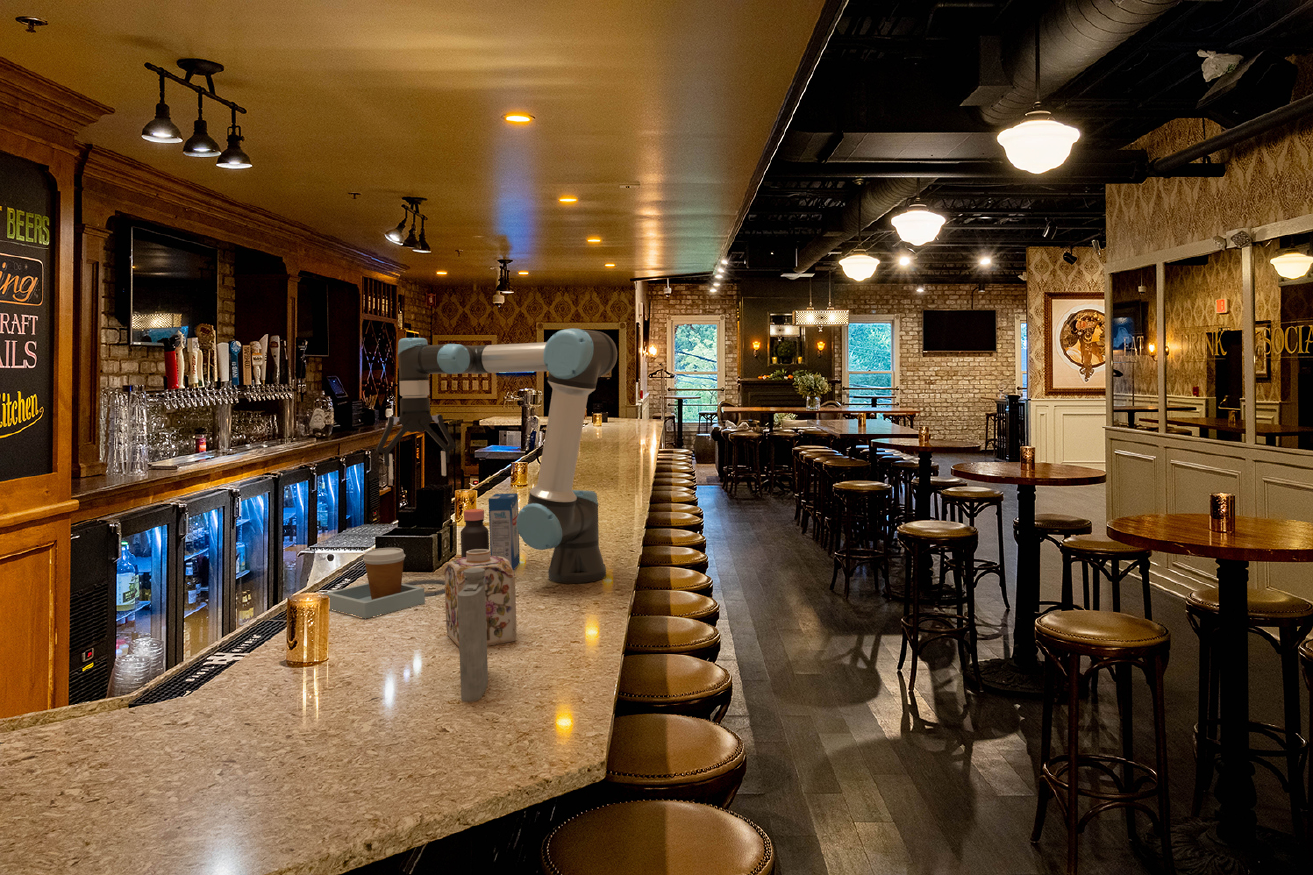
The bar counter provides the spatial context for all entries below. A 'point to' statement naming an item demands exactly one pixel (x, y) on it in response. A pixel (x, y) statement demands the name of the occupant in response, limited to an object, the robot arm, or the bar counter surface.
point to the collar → (429, 582)
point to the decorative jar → (496, 595)
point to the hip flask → (473, 635)
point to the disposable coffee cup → (384, 571)
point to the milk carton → (504, 527)
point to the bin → (363, 606)
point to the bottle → (474, 532)
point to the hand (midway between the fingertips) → (417, 477)
